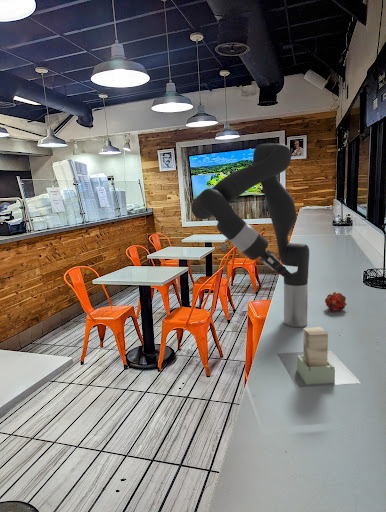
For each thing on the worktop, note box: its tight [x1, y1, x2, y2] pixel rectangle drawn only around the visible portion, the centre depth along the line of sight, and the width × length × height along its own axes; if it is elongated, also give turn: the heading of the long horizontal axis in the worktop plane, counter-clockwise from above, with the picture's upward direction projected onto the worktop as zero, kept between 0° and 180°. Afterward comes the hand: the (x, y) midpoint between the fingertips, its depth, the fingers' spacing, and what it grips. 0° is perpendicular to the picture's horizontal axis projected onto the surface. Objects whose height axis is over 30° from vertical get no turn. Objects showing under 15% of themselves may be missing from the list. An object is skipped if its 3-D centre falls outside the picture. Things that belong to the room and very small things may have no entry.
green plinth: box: [297, 355, 335, 385], centre depth 99 cm, size 8×8×5 cm
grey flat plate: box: [277, 349, 362, 388], centre depth 104 cm, size 20×18×1 cm
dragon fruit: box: [324, 291, 348, 312], centre depth 152 cm, size 8×8×12 cm
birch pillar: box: [302, 326, 329, 367], centre depth 97 cm, size 5×5×10 cm
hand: (287, 275), depth 103 cm, fingers open, 8 cm apart
